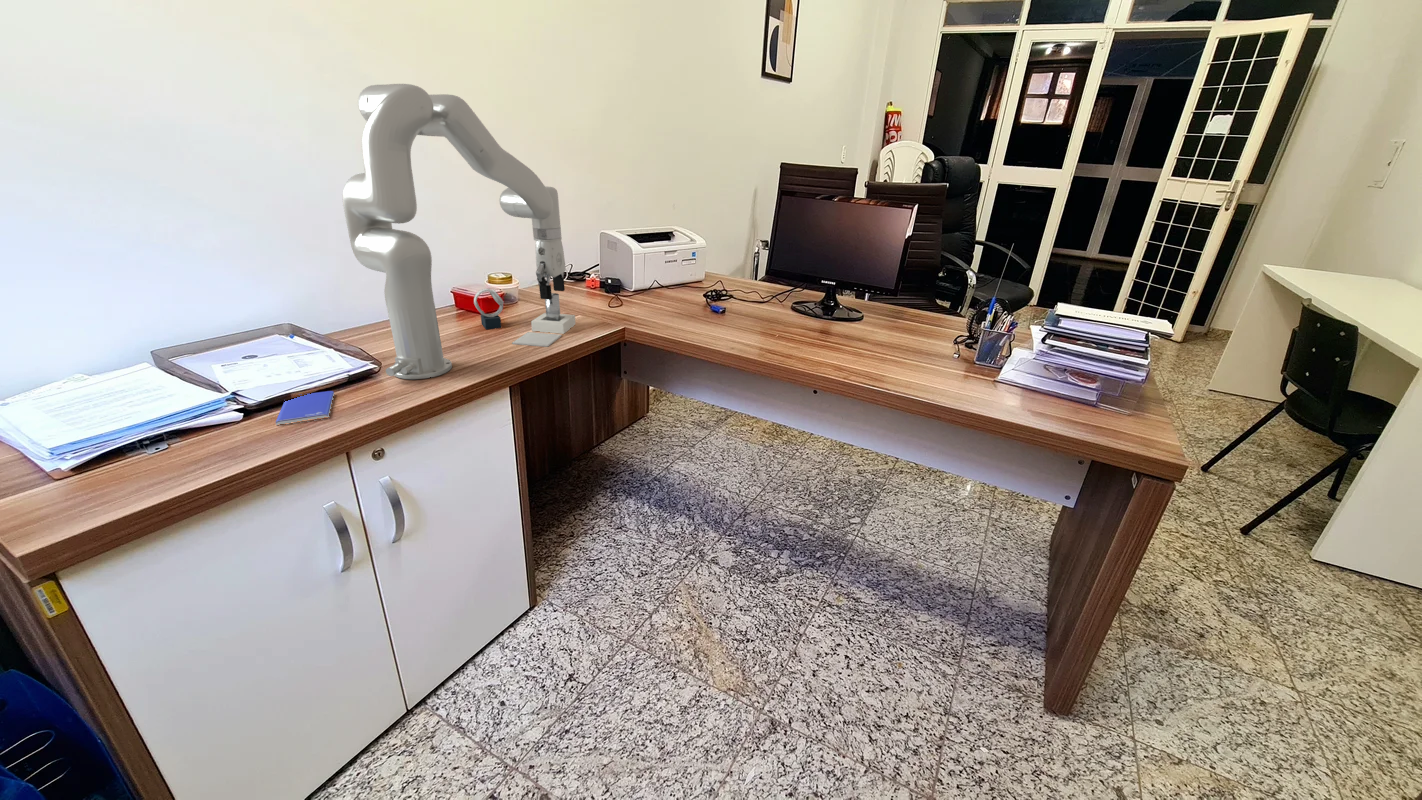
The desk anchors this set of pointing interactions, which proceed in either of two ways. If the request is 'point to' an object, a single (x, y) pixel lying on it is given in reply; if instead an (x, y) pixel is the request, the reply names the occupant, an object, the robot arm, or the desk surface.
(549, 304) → the peg
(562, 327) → the grey square socket block
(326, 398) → the blue book
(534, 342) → the mat
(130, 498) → the desk surface
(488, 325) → the grey ring on block
